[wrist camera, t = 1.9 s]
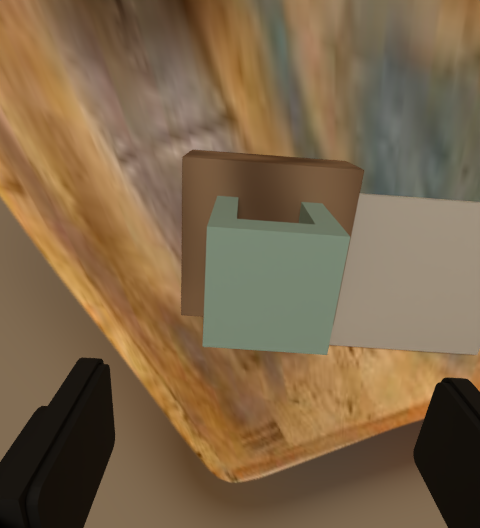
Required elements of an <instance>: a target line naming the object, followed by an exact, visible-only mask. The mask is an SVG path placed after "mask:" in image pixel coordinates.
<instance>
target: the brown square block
mask: <svg viewBox="0 0 480 528" xmlns="http://www.w3.org/2000/svg"><path fill="white" fill-rule="evenodd" d="M363 174H364V170H363V169H361V168H359V167H357V166H355V165H353V164H351V163H348V162H346V161H337V160H323V159H310V158H296V157H283V156H270V155H256V154H243V153H229V152H216V151H202V150H191V151H190V152H189V153H187V154H186V155H184V156H183V162H182V284H181V315H187V316H202V317H204V296H205V268H206V240H207V225H208V222H209V219H210V216H211V213H212V210H213V207H214V204H215V201H216V198H217V196H227V197H238V212H237V219H246V220H260V221H274V222H288V223H299V216H300V209H301V202H310V203H322V204H323V205H324V206H325V207H326V208H327V209H328V211H329V212H330V213H331V214H332V215H333V217H334V218H335V219H336V220H337V221H338V223H339V224H340V225H341V226H342V227H343V229H344V230H345V231H346V232H347V233H348V234H349V236H350V240H351V235H352V230H353V225H354V220H355V215H356V210H357V204H358V199H359V194H360V189H361V184H362V179H363ZM349 245H350V242H349ZM348 250H349V247H348ZM347 255H348V252H347ZM346 260H347V257H346ZM345 265H346V262H345ZM344 270H345V267H344ZM343 275H344V272H343ZM342 280H343V277H342ZM341 285H342V282H341ZM340 290H341V287H340ZM339 295H340V292H339ZM338 300H339V297H338ZM337 305H338V302H337ZM336 310H337V307H336ZM335 315H336V312H335ZM334 320H335V317H334ZM333 325H334V322H333Z"/></svg>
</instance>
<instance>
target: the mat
mask: <svg viewBox="0 0 480 528" xmlns="http://www.w3.org/2000/svg"><path fill="white" fill-rule="evenodd" d="M329 345H338V346H353V347H368V348H382V349H397V350H412V351H427V352H442V353H457V354H471V355H477V354H478V351H479V349H480V202H473V201H460V200H446V199H432V198H419V197H405V196H391V195H378V194H364V193H360V194H359V199H358V204H357V210H356V215H355V220H354V225H353V230H352V235H351V240H350V245H349V250H348V255H347V260H346V265H345V270H344V275H343V280H342V285H341V290H340V295H339V300H338V305H337V310H336V315H335V320H334V325H333V327H332V332H331V338H330V343H329Z"/></svg>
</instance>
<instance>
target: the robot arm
mask: <svg viewBox="0 0 480 528" xmlns="http://www.w3.org/2000/svg"><path fill="white" fill-rule="evenodd" d="M114 442H115V428H114V416H113V403H112V390H111V378H110V368H109V365H108V364H104V363H103V360H102V359H97V358H80V359H79V360H78V361H77V362H76V364H75V366H74V367H73V369H72V370H71V372H70V373H69V375H68V376H67V378H66V379H65V381H64V382H63V384H62V385H61V387H60V388H59V390H58V391H57V393H56V394H55V396H54V398H53V399H52V401H51V402H50V404H49V405H48V406H41V407H39V408H38V409H37V410H36V411H35V412H34V414H33V415H32V417H31V418H30V420H29V421H28V422H27V424H26V425H25V427H24V428H23V430H22V431H21V433H20V434H19V436H18V437H17V438H16V440H15V441H14V443H13V444H12V446H11V447H10V449H9V450H8V452H7V453H6V454H5V456H4V457H3V459H2V460H1V462H0V528H83V527H84V525H85V522H86V519H87V517H88V514H89V511H90V509H91V506H92V503H93V501H94V498H95V495H96V493H97V490H98V488H99V485H100V482H101V479H102V477H103V474H104V471H105V469H106V466H107V464H108V461H109V458H110V455H111V453H112V450H113V447H114ZM414 460H415V463H416V466H417V468H418V470H419V471H420V473H421V475H422V477H423V479H424V481H425V483H426V485H427V487H428V489H429V491H430V493H431V495H432V497H433V499H434V501H435V503H436V505H437V507H438V509H439V510H440V513H441V515H442V517H443V518H444V521H445V522H446V524H447V526H448V528H480V392H479V391H478V389H477V388H476V387H475V386H474V385H473V384H472V383H471V382H470V381H469V380H468V379H463V378H444V379H443V380H442V381H441V382H440V383H438V384H437V385H436V387H435V390H434V392H433V395H432V398H431V401H430V404H429V407H428V410H427V413H426V416H425V419H424V422H423V425H422V427H421V430H420V434H419V436H418V439H417V442H416V445H415V448H414Z"/></svg>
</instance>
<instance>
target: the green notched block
mask: <svg viewBox="0 0 480 528" xmlns="http://www.w3.org/2000/svg"><path fill="white" fill-rule="evenodd" d="M237 212H238V197H227V196H217V198H216V201H215V204H214V207H213V210H212V213H211V216H210V219H209V222H208V225H207V240H206V268H205V296H204V323H203V347H216V348H231V349H246V350H261V351H276V352H291V353H306V354H321V355H327V353H328V348H329V343H330V338H331V332H332V327H333V322H334V317H335V312H336V307H337V302H338V297H339V292H340V287H341V282H342V277H343V272H344V267H345V262H346V257H347V252H348V247H349V242H350V236H349V234H348V233H347V232H346V231H345V230H344V229H343V227H342V226H341V225H340V224H339V223H338V221H337V220H336V219H335V218H334V217H333V215H332V214H331V213H330V212H329V211H328V209H327V208H326V207H325V206H324V205H323V204H322V203H310V202H301V209H300V216H299V223H288V222H274V221H260V220H246V219H237Z"/></svg>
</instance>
